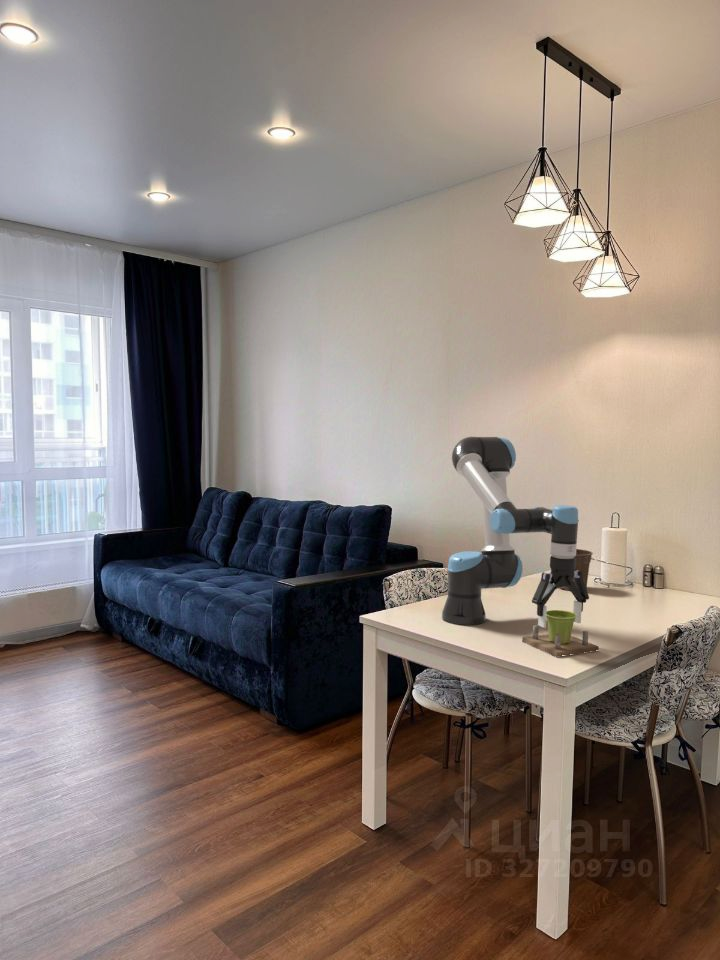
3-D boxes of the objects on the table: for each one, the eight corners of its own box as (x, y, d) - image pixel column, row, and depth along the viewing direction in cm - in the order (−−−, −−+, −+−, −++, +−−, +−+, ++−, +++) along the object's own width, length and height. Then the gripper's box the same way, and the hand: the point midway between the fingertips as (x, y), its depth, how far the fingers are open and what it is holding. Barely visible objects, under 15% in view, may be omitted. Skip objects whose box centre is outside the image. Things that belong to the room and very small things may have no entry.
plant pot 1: (557, 592, 283) (558, 554, 282) (547, 583, 299) (549, 547, 298) (596, 593, 282) (597, 555, 281) (584, 584, 298) (586, 548, 297)
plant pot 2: (576, 647, 201) (577, 619, 201) (543, 644, 204) (544, 616, 203) (575, 638, 210) (576, 611, 210) (543, 635, 213) (544, 608, 212)
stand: (522, 641, 211) (522, 624, 211) (562, 636, 218) (563, 619, 217) (556, 657, 197) (557, 638, 196) (598, 651, 203) (599, 633, 203)
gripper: (538, 561, 197) (534, 631, 199) (603, 556, 207) (599, 623, 209) (522, 556, 204) (518, 624, 206) (586, 551, 214) (582, 617, 216)
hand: (559, 624), depth 207 cm, fingers open, 13 cm apart
